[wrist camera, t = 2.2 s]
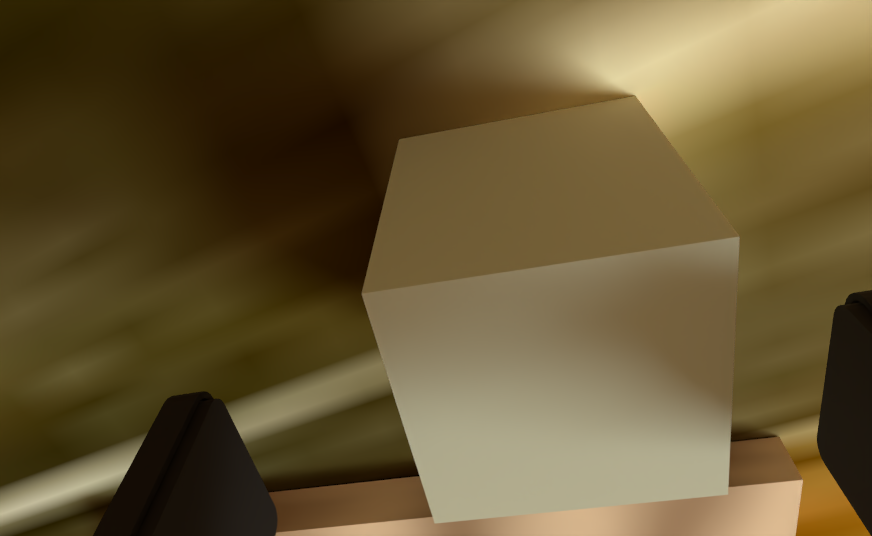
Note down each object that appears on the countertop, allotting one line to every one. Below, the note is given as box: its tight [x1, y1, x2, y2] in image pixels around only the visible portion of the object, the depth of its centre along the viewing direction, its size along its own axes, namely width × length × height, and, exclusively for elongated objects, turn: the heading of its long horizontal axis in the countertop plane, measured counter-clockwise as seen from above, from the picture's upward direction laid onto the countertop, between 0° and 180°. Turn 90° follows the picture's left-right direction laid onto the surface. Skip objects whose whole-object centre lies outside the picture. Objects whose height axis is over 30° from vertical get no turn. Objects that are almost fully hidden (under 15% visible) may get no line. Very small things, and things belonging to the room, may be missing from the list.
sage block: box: [362, 96, 740, 524], centre depth 12 cm, size 5×5×6 cm
